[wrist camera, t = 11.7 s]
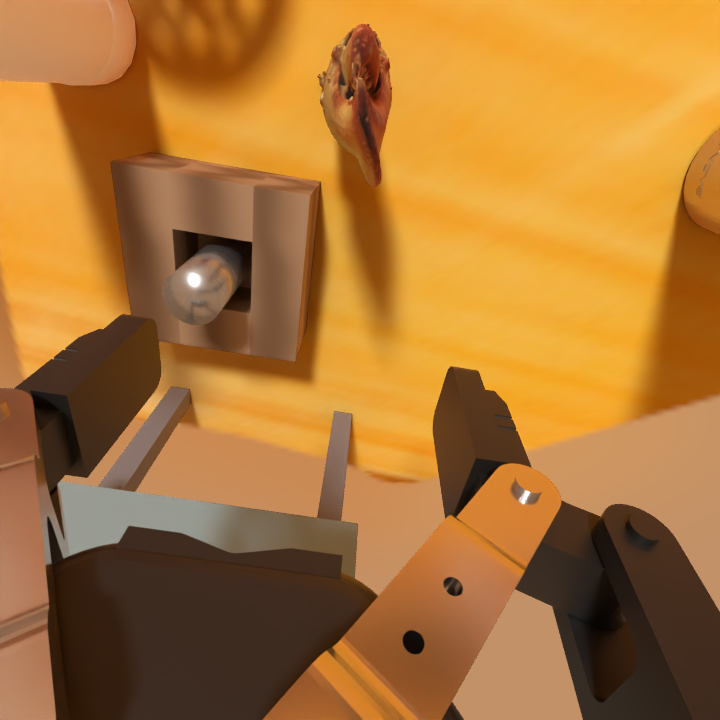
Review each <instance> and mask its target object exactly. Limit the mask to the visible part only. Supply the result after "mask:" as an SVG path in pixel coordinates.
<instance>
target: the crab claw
mask: <svg viewBox="0 0 720 720" xmlns="http://www.w3.org/2000/svg"><path fill="white" fill-rule="evenodd" d="M331 57H332V59H331V61H330V64H329V67H328V70H327V71H326V72H325V71H324V72H323V74H322V75H320V74H319V75H318V76H317V77H318V78H319V82H320V85H321V86H322V88H323V89H324V91H323V92H322V95H321V98H320V103H321V105H322V107H323V112H324V116H325V119H326V122H327V125H328V127H329V129H330V131H331V133H332V135H333V136H334V138H335V139H336V140H337V142H338V143H339V144H340V145H341V146H342V147H343V148H344V149H345V150H346V151H348V152H350V153H351V154H353V155H354V156H355V157H356V158H357V160H358V162H359V165H360V167H361V170H362V172H363V175H364V177H365V179H366V181H367V183H368V184H369V185H370V186H373V187H376V186H378V185H379V184H380V182H381V168H380V159H379V152H380V148H381V144H382V140H383V136H384V133H385V129H386V124H387V119H388V115H389V111H390V107H391V100H392V91H391V90H392V87H391V83H390V75H389V68H390V63H389V58H387V56H386V53H385V52H384V50H383V49H382V47H381V42H380V40H379V39H378V37H377V34H376V32H375V31H372V29H371V28H370V27H369V24H367V25H366V24H360V25H358V26H357V27H356V28H353V29H352V30H351V31H350V32H349V33H348V34H347V35H346V37H345V38H344V39H343V40H342V41H341V42H340V43H339V45H337V46H336V47H335V48H334V49H333V52H332V55H331Z"/></svg>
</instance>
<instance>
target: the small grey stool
mask: <svg viewBox="0 0 720 720" xmlns="http://www.w3.org/2000/svg"><path fill="white" fill-rule="evenodd" d="M190 404H191V403H190V389H184V388H178V387H171V388H170V389H169V390H168V392H167V393H166V394H165V396H164V397H163V399H162V400H161V401H160V403H159V404H158V405H157V407H156V408H155V409H154V411H153V412H152V413H151V415H150V416H149V418H148V419H147V420H146V422H145V423H144V424H143V426H142V427H141V429H140V430H139V432H138V433H137V434H136V435H135V437H134V438H133V439H132V441H131V442H130V443H129V445H128V446H127V447H126V449H125V450H124V452H123V453H122V454H121V456H120V457H119V459H118V460H117V461H116V462H115V464H114V465H113V467H112V468H111V469H110V471H109V472H108V473H107V475H106V476H105V477H104V479H103V480H102V482H101V483H100V484H99V486H98V487H96V486H89V485H81V484H75V483H68V482H61V481H60V482H59V483H58V486H59V489H60V493H61V499H62V506H63V512H64V519H65V526H66V532H67V539H68V546H69V552H70V555H73V554H76V553H78V552H81V551H84V550H87V549H90V548H94V547H97V546H102V545H107V544H113V543H119V541H120V539H121V538H122V536H123V534H124V533H125V531H126V529H127V528H128V526H135V527H143V528H150V529H157V530H164V531H171V532H179V533H183V534H186V535H188V536H191V537H193V538H195V539H198V540H200V541H203V542H205V543H208V544H210V545H212V546H215V547H217V548H220V549H222V550H225V551H227V552H230V553H245V552H255V551H266V550H276V549H287V548H294V549H301V550H308V551H315V552H322V553H330V554H337V555H343V557H342V568H341V572H342V573H344V574H346V575H349V576H351V577H353V578H354V579H355V566H356V565H355V564H356V549H357V534H358V524H357V523H350V522H343V521H341V517H342V507H343V497H344V487H345V478H346V468H347V459H348V449H349V439H350V429H351V419H352V414H349V413H343V412H336V411H334V416H333V422H332V428H331V435H330V441H329V447H328V453H327V460H326V467H325V473H324V479H323V485H322V492H321V497H320V503H319V510H318V516H317V518H314V517H307V516H300V515H293V514H286V513H279V512H272V511H265V510H258V509H250V508H243V507H237V506H230V505H223V504H216V503H208V502H202V501H195V500H188V499H181V498H174V497H167V496H160V495H153V494H146V493H138V492H135V491H136V489H137V488H138V486H139V485H140V483H141V481H142V480H143V478H144V477H145V475H146V473H147V472H148V470H149V469H150V467H151V466H152V464H153V462H154V461H155V459H156V458H157V456H158V454H159V453H160V451H161V450H162V448H163V447H164V445H165V443H166V442H167V440H168V439H169V437H170V436H171V434H172V432H173V431H174V429H175V428H176V426H177V424H178V423H179V421H180V420H181V418H182V417H183V415H184V413H185V412H186V410H187V409H188V407H189V405H190Z"/></svg>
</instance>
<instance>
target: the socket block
mask: <svg viewBox="0 0 720 720" xmlns="http://www.w3.org/2000/svg"><path fill="white" fill-rule="evenodd" d="M110 163H111V170H112V177H113V185H114V192H115V200H116V207H117V214H118V222H119V229H120V236H121V244H122V251H123V259H124V266H125V273H126V281H127V288H128V296H129V303H130V310H131V315H132V316H138V317H144V318H151V319H153V320H154V321H155V322H156V325H157V332H158V341H164V342H170V343H176V344H183V345H189V346H196V347H202V348H209V349H215V350H222V351H228V352H234V353H241V354H247V355H254V356H260V357H267V358H273V359H279V360H286V361H292V362H295V361H296V358H297V355H298V352H299V350H300V347H301V344H302V341H303V338H304V335H305V332H306V325H307V314H308V304H309V294H310V284H311V274H312V264H313V254H314V244H315V234H316V224H317V214H318V204H319V194H320V183H321V182H320V181H314V180H308V179H302V178H296V177H290V176H285V175H279V174H273V173H267V172H261V171H255V170H250V169H244V168H238V167H232V166H226V165H220V164H215V163H209V162H203V161H197V160H191V159H185V158H180V157H174V156H168V155H162V154H156V153H146V154H142V155H137V156H133V157H129V158H125V159H121V160H116V161H112V162H110ZM216 236H218V237H224V238H231V239H237V240H243V241H249V242H251V243H252V270H251V271H250V273H249V274H248V275H247V277H246V278H245V279H244V281H243V282H242V283H241V285H240V286H239V287H238V289H237V290H236V291H235V293H234V294H233V295H232V297H231V298H230V299H229V301H228V302H227V303H226V305H225V306H224V307H223V308H222V310H221V311H220V312H219V314H218V315H217V316H216V318H215V319H214V320H212V321H211V322H209V323H207V324H204V325H191V324H187V323H184V322H182V321H180V320H179V319H177V318H176V317H174V316H173V315H172V314H171V313H170V312H169V310H168V309H167V307H166V306H165V304H164V301H163V298H162V287H163V284H164V282H165V280H166V279H167V278H168V277H169V276H170V275H171V274H172V273H174V272H175V271H176V270H177V269H178V268H180V267H181V266H182V265H183V264H184V263H186V262H187V261H188V260H189V259H190V258H191V257H193V256H194V255H195V254H196V253H197V252H199V251H200V250H201V249H202V248H203V247H205V246H206V245H207V244H208V243H209V242H210V241H212V240H213V239H214V238H215V237H216Z"/></svg>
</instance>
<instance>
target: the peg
mask: <svg viewBox="0 0 720 720" xmlns="http://www.w3.org/2000/svg"><path fill="white" fill-rule="evenodd" d="M251 270H252V243H251V242H249V241H243V240H237V239H231V238H224V237H218V236H216V237H215V238H214V239H213V240H212V241H210V242H209V243H208V244H207V245H206V246H205V247H203V248H202V249H201V250H200V251H199V252H197V253H196V254H195V255H194V256H193V257H191V258H190V259H189V260H188V261H187V262H186V263H184V264H183V265H182V266H181V267H180V268H178V269H177V270H176V271H175V272H174V273H172V274H171V275H170V276H169V277H168V278H167V279H166V280H165V282H164V284H163V287H162V298H163V301H164V304H165V306H166V307H167V309H168V310H169V312H170V313H171V314H172V315H173V316H174V317H176V318H177V319H179V320H180V321H182V322H184V323H187V324H191V325H204V324H207V323H209V322H211V321H212V320H214V319H215V318H216V316H217V315H218V314H219V312H220V311H221V310H222V308H223V307H224V306H225V305H226V303H227V302H228V301H229V299H230V298H231V297H232V295H233V294H234V293H235V291H236V290H237V289H238V287H239V286H240V285H241V283H242V282H243V281H244V279H245V278H246V277H247V275H248V274H249V273H250V271H251Z"/></svg>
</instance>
